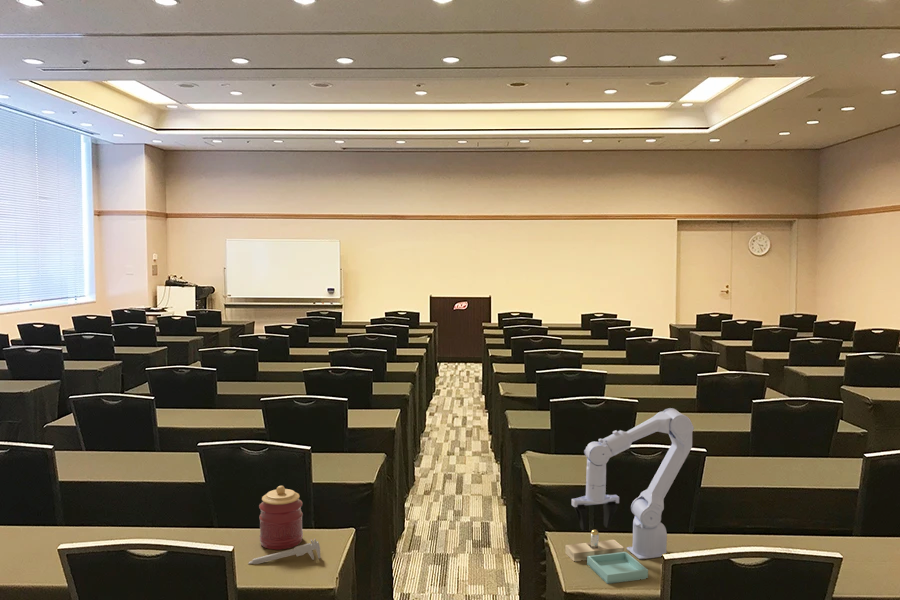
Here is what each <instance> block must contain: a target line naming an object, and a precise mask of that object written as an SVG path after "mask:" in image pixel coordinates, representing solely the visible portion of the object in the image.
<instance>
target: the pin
mask: <svg viewBox="0 0 900 600" xmlns="http://www.w3.org/2000/svg"><path fill="white" fill-rule="evenodd" d="M599 536H600V535H599V531H598V529H592V530H591V532H590V542H591V548H592V549H595V548H598V541H599Z"/></svg>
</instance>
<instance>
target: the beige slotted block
mask: <svg viewBox="0 0 900 600" xmlns="http://www.w3.org/2000/svg"><path fill="white" fill-rule="evenodd" d="M564 548H565V553H564V554H565V555H567V556H568V558H569V559H571V560H572V561H573V562H574V561H575V562H581V560H583V561H587V556H593V555H602V554H610V553H619V552H625V550H624V549H625V548H624V546H623V545H621V544H620V543H619V542H617V540H615V539H606V540H600V541H599V540H598V548H595V549H592V548H591V541H589V542H581V543H573V544H565V547H564Z"/></svg>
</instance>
